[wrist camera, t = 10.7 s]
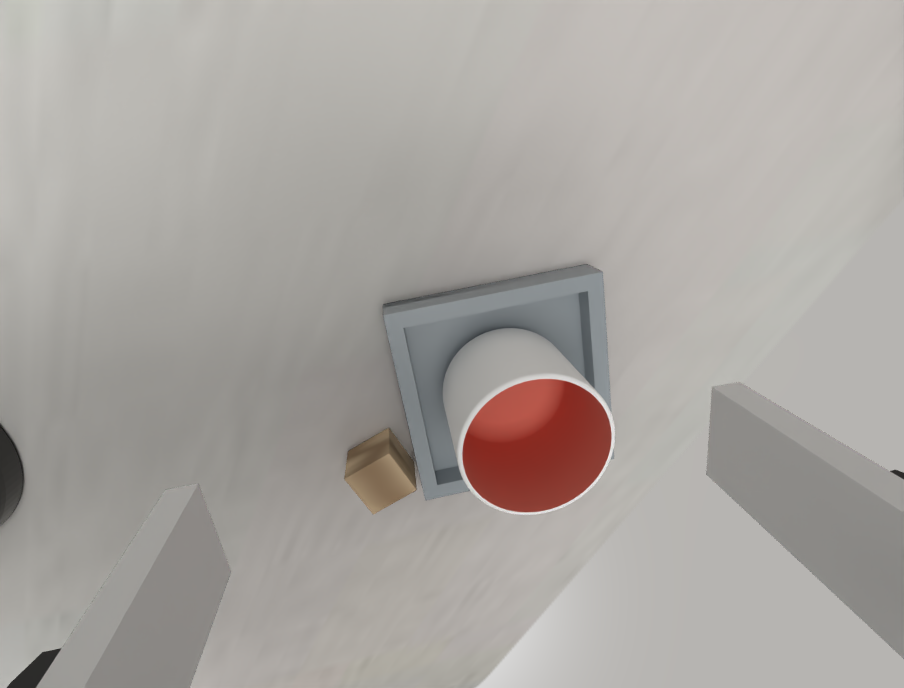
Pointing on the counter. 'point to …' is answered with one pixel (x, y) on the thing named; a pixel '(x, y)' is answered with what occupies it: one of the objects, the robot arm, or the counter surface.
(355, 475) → the oak block
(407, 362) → the tray
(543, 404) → the cup
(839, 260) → the counter surface
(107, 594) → the robot arm
